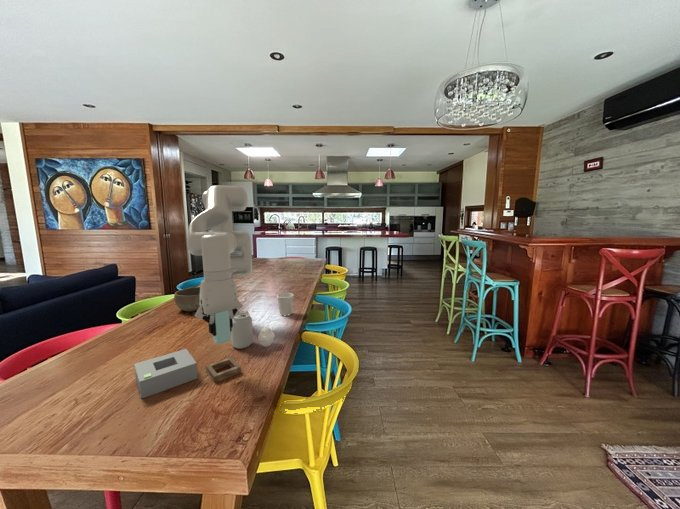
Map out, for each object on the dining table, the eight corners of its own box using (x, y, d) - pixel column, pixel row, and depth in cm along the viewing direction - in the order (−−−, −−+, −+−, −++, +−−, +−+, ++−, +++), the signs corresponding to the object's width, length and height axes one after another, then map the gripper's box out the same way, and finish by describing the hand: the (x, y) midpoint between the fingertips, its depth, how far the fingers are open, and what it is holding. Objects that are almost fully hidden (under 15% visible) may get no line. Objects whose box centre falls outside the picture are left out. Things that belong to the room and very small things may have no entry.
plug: (226, 336, 88) (224, 303, 86) (230, 340, 85) (228, 307, 83) (213, 340, 85) (210, 306, 83) (217, 344, 82) (215, 310, 80)
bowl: (202, 314, 136) (201, 295, 135) (167, 314, 137) (165, 295, 135) (218, 303, 153) (217, 286, 152) (187, 303, 154) (185, 286, 152)
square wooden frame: (231, 362, 91) (231, 357, 91) (241, 372, 85) (240, 366, 85) (206, 371, 86) (205, 365, 86) (214, 383, 80) (214, 376, 80)
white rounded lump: (276, 346, 103) (276, 328, 102) (260, 350, 100) (260, 332, 99) (272, 339, 108) (271, 323, 107) (256, 343, 105) (255, 326, 104)
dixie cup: (287, 310, 143) (287, 291, 142) (297, 314, 137) (297, 295, 136) (274, 314, 137) (273, 295, 136) (283, 318, 131) (282, 298, 130)
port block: (187, 362, 91) (186, 347, 90) (197, 378, 82) (196, 361, 82) (135, 379, 82) (134, 362, 81) (141, 398, 73) (139, 380, 72)
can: (256, 342, 106) (255, 312, 105) (244, 351, 99) (242, 319, 98) (240, 339, 109) (239, 310, 107) (227, 347, 102) (225, 317, 100)
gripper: (239, 269, 90) (242, 321, 93) (183, 277, 79) (188, 336, 82) (249, 273, 84) (252, 328, 87) (190, 282, 73) (195, 345, 76)
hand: (221, 331), depth 85 cm, fingers closed on plug, 4 cm apart
